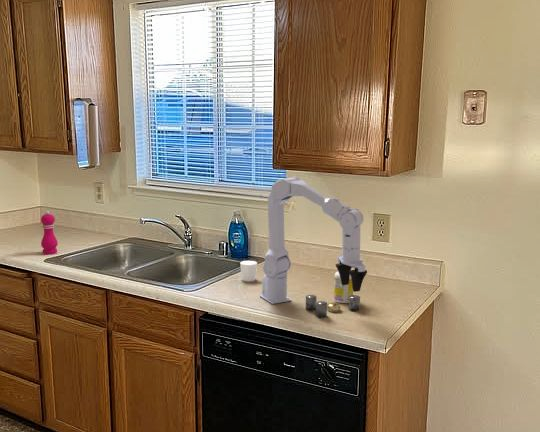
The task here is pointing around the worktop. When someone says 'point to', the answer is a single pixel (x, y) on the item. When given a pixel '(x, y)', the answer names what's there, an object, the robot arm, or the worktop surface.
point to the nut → (333, 307)
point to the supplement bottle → (342, 289)
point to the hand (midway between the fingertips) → (350, 287)
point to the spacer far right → (321, 309)
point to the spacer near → (311, 302)
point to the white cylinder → (248, 270)
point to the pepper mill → (48, 234)
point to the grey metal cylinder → (354, 303)
